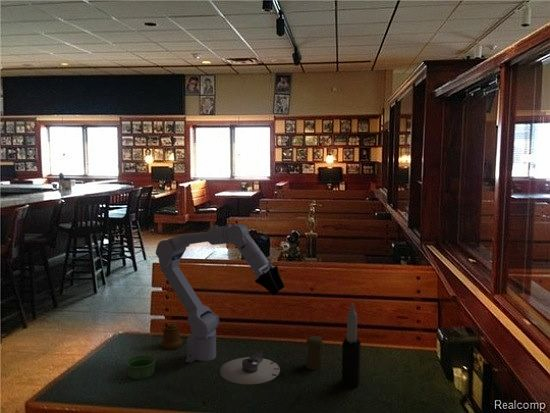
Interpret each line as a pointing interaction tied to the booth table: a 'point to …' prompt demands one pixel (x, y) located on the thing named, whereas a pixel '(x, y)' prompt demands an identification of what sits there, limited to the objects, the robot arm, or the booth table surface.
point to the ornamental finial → (171, 337)
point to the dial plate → (237, 375)
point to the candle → (351, 352)
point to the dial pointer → (252, 362)
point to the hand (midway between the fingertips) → (279, 291)
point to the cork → (314, 354)
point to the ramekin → (141, 366)
